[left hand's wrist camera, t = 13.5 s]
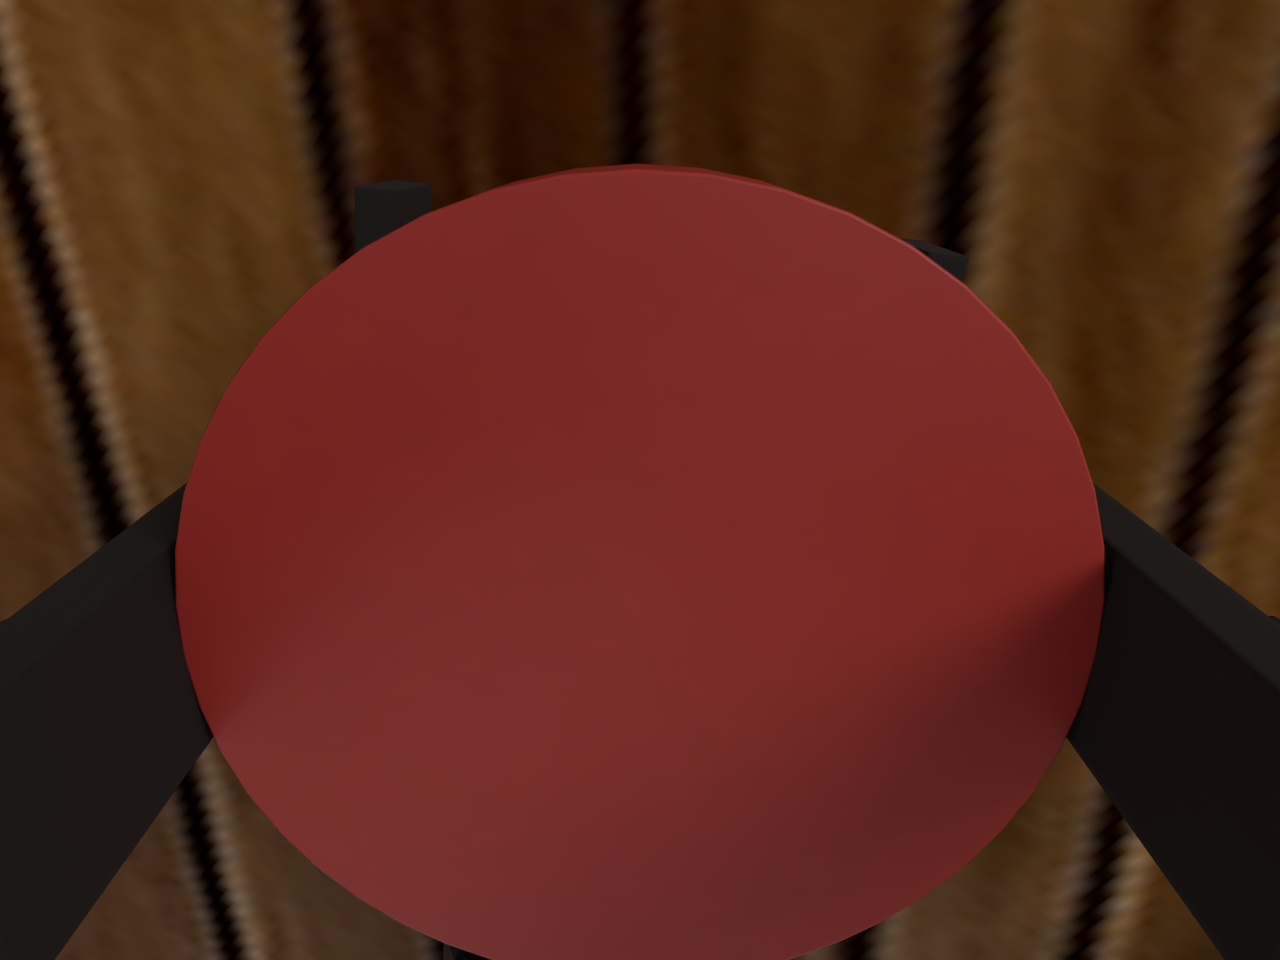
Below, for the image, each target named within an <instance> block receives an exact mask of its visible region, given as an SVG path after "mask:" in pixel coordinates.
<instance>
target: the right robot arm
mask: <svg viewBox="0 0 1280 960" xmlns="http://www.w3.org/2000/svg"><path fill="white" fill-rule="evenodd" d="M430 209H431V184H425V183H416V182H407V181H399V180H392V181H386V182H380V183H374V184H368V185H362V186H356V187H355V248H356V253H357V252H358V251H359V250H361V249H362V248H364V247H365V246H367V245H369V244H371V243H373V242H375V241H376V240H378V239H380V238H382V237H384V236H386V235H387V234H389V233H391V232H393V231H395V230H397V229H398V228H400V227H402V226H404V225H406V224H408V223H409V222H411V221H413V220H415V219H417V218H419V217H420V216H422V215H424V214H427V213H429V212H430ZM900 239H902V238H900ZM902 240H903V241H905V242H907V243H909V244H911V245H913V246H914V247H915V248H917V249H918V250H920V251H921V252H922V253H924V254H925V255H926V256H928V257H929V258H930V259H932V260H933V261H934V262H936V263H937V264H938V265H940V266H941V267H943V268H944V269H945V270H947V271H948V272H949V273H951V274H952V275H953V276H955V277H956V278H957V279H959V280H960V281H961V282H963V278H964V274H965V270H966V266H967V262H968V258H969V257H967V256H964V255H961V254H958V253H956V252H953V251H950V250H947V249H944V248H942V247H939V246H936V245H933V244H931V243H928V242H925V241H919V240H910V239H902ZM318 870H319V871H320V872H321V874H322V875H323V876H324V877H326V878H327V879H329V880H330V881H334V882H336V881H335V880H333V879H332V878H331V877H329V876H328V875H326V874H325V873H324V872H322V871H321V870H320V869H318ZM443 960H491V959H489V958H486V957H483V956H480V955H477V954H474V953H471V952H468V951H465V950H462V949H459V948H456V947H454V946H451V945H448V944H445V943H444V952H443Z"/></svg>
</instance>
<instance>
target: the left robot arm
mask: <svg viewBox="0 0 1280 960" xmlns="http://www.w3.org/2000/svg"><path fill="white" fill-rule="evenodd" d="M186 485H187V483H186V484H185V485H183V486H182V487H181V488H179V489H178V490H177V491H175V492H174V493H173V494H171V495H170V496H169V497H167V498H166V499H165V500H163V501H162V502H161V503H160V504H158V505H157V506H156V507H154V508H153V509H152V510H150V511H149V512H148V513H146V514H145V515H144V516H142V517H141V518H140V519H139V520H137V521H136V522H135V523H133V524H132V525H131V526H129V527H128V528H127V529H125V530H124V531H123V532H121V533H120V534H119V535H117V536H116V537H115V538H114V539H112V540H111V541H110V542H108V543H107V544H106V545H104V546H103V547H102V548H100V549H99V550H98V551H96V552H95V553H94V554H93V555H91V556H90V557H89V558H87V559H86V560H85V561H83V562H82V563H81V564H79V565H78V566H77V567H75V568H74V569H73V570H71V571H70V572H69V573H68V574H66V575H65V576H64V577H62V578H61V579H60V580H58V581H57V582H56V583H54V584H53V585H52V586H50V587H49V588H48V589H47V590H45V591H44V592H43V593H41V594H40V595H39V596H37V597H36V598H35V599H33V600H32V601H31V602H29V603H28V604H27V605H26V606H24V607H23V608H22V609H20V610H19V611H18V612H16V613H15V614H14V615H12V616H11V617H10V618H8V619H6V620H4V621H2V622H0V960H55V959H56V957H57V956H58V954H59V953H60V952H61V950H62V949H63V947H64V946H65V944H66V943H67V942H68V940H69V939H70V937H71V936H72V935H73V933H74V932H75V930H76V929H77V928H78V926H79V925H80V923H81V922H82V921H83V919H84V918H85V916H86V915H87V914H88V912H89V911H90V909H91V908H92V907H93V905H94V904H95V902H96V901H97V900H98V898H99V897H100V895H101V894H102V893H103V891H104V890H105V888H106V887H107V885H108V884H109V883H110V881H111V880H112V878H113V877H114V876H115V874H116V873H117V871H118V870H119V869H120V867H121V866H122V864H123V863H124V862H125V860H126V859H127V857H128V856H129V855H130V853H131V852H132V850H133V849H134V848H135V846H136V845H137V843H138V842H139V841H140V839H141V838H142V836H143V835H144V834H145V832H146V831H147V829H148V828H149V826H150V825H151V824H152V822H153V821H154V819H155V818H156V817H157V815H158V814H159V812H160V811H161V810H162V808H163V807H164V805H165V804H166V803H167V801H168V800H169V798H170V797H171V796H172V794H173V793H174V791H175V790H176V789H177V787H178V786H179V784H180V783H181V782H182V780H183V779H184V777H185V776H186V775H187V773H188V772H189V770H190V769H191V767H192V766H193V765H194V763H195V762H196V760H197V759H198V758H199V756H200V755H201V753H202V752H203V751H204V749H205V748H206V746H207V745H208V744H209V742H210V741H211V739H212V738H213V737H214V736H213V734H212V732H211V730H210V728H209V726H208V724H207V722H206V719H205V717H204V715H203V713H202V711H201V709H200V707H199V704H198V701H197V697H196V694H195V691H194V688H193V685H192V681H191V678H190V675H189V671H188V667H187V663H186V660H185V655H184V651H183V646H182V641H181V636H180V630H179V624H178V617H177V611H176V605H175V548H176V541H177V534H178V528H179V521H180V514H181V508H182V501H183V494H184V491H185V488H186ZM1093 485H1094V488H1095V492H1096V498H1097V505H1098V511H1099V517H1100V523H1101V530H1102V536H1103V542H1104V608H1103V614H1102V621H1101V628H1100V635H1099V640H1098V645H1097V650H1096V654H1095V658H1094V662H1093V666H1092V670H1091V674H1090V677H1089V681H1088V684H1087V687H1086V691H1085V694H1084V697H1083V701H1082V704H1081V706H1080V708H1079V710H1078V712H1077V714H1076V717H1075V719H1074V721H1073V723H1072V725H1071V727H1070V730H1069V732H1068V734H1067V736H1066V737H1067V739H1068V740H1069V741H1070V743H1071V744H1072V746H1073V747H1074V749H1075V750H1076V751H1077V753H1078V754H1079V756H1080V757H1081V758H1082V760H1083V761H1084V763H1085V764H1086V765H1087V767H1088V768H1089V770H1090V771H1091V772H1092V774H1093V775H1094V777H1095V778H1096V779H1097V781H1098V782H1099V784H1100V785H1101V786H1102V788H1103V789H1104V791H1105V792H1106V793H1107V795H1108V796H1109V798H1110V799H1111V800H1112V802H1113V803H1114V805H1115V806H1116V808H1117V809H1118V810H1119V812H1120V813H1121V815H1122V816H1123V817H1124V819H1125V820H1126V822H1127V823H1128V824H1129V826H1130V827H1131V829H1132V830H1133V831H1134V833H1135V834H1136V836H1137V837H1138V838H1139V840H1140V841H1141V843H1142V844H1143V845H1144V847H1145V848H1146V850H1147V851H1148V852H1149V854H1150V855H1151V857H1152V858H1153V860H1154V861H1155V862H1156V864H1157V865H1158V867H1159V868H1160V869H1161V871H1162V872H1163V874H1164V875H1165V876H1166V878H1167V879H1168V881H1169V882H1170V883H1171V885H1172V886H1173V888H1174V889H1175V890H1176V892H1177V893H1178V895H1179V896H1180V897H1181V899H1182V900H1183V902H1184V903H1185V904H1186V906H1187V907H1188V909H1189V910H1190V911H1191V913H1192V914H1193V916H1194V917H1195V919H1196V920H1197V921H1198V923H1199V924H1200V926H1201V927H1202V928H1203V930H1204V931H1205V933H1206V934H1207V935H1208V937H1209V938H1210V940H1211V941H1212V942H1213V944H1214V945H1215V947H1216V948H1217V949H1218V951H1219V952H1220V954H1221V955H1222V956H1223V958H1224V959H1225V960H1280V619H1279V618H1277V617H1275V616H1267V615H1266V614H1264V613H1263V612H1262V611H1261V610H1259V609H1258V608H1257V607H1255V606H1254V605H1253V604H1251V603H1250V602H1249V601H1247V600H1246V599H1245V598H1243V597H1242V596H1241V595H1239V594H1238V593H1237V592H1236V591H1234V590H1233V589H1232V588H1230V587H1229V586H1228V585H1226V584H1225V583H1224V582H1222V581H1221V580H1220V579H1218V578H1217V577H1216V576H1215V575H1213V574H1212V573H1211V572H1209V571H1208V570H1207V569H1205V568H1204V567H1203V566H1201V565H1200V564H1199V563H1197V562H1196V561H1195V560H1194V559H1192V558H1191V557H1190V556H1188V555H1187V554H1186V553H1184V552H1183V551H1182V550H1180V549H1179V548H1178V547H1176V546H1175V545H1174V544H1172V543H1171V542H1170V541H1169V540H1167V539H1166V538H1165V537H1163V536H1162V535H1161V534H1159V533H1158V532H1157V531H1155V530H1154V529H1153V528H1151V527H1150V526H1149V525H1148V524H1146V523H1145V522H1144V521H1142V520H1141V519H1140V518H1138V517H1137V516H1136V515H1134V514H1133V513H1132V512H1130V511H1129V510H1128V509H1127V508H1125V507H1124V506H1123V505H1121V504H1120V503H1119V502H1117V501H1116V500H1115V499H1113V498H1112V497H1111V496H1109V495H1108V494H1107V493H1105V492H1104V491H1103V490H1102V489H1100V488H1099V487H1098V486H1096V485H1095V484H1094V483H1093Z"/></svg>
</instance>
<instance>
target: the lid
mask: <svg viewBox="0 0 1280 960" xmlns="http://www.w3.org/2000/svg"><path fill="white" fill-rule="evenodd" d="M175 605H176V611H177V617H178V624H179V630H180V636H181V641H182V646H183V651H184V655H185V660H186V663H187V667H188V671H189V675H190V678H191V681H192V685H193V688H194V691H195V694H196V697H197V701H198V704H199V707H200V709H201V711H202V713H203V715H204V717H205V719H206V722H207V724H208V726H209V728H210V730H211V732H212V734H213V736H214V738H215V741H216V743H217V745H218V747H219V749H220V751H221V753H222V755H223V756H224V758H225V759H226V761H227V762H228V764H229V765H230V767H231V769H232V770H233V772H234V773H235V775H236V776H237V778H238V779H239V781H240V782H241V784H242V786H243V787H244V789H245V790H246V792H247V793H248V795H249V796H250V797H251V798H252V800H253V801H254V802H255V803H256V804H257V806H258V807H259V808H260V809H261V810H262V812H263V813H264V814H265V815H266V816H267V817H268V819H269V820H270V821H271V822H272V823H273V825H274V826H275V827H276V828H277V829H278V831H279V832H280V833H281V834H282V835H283V836H284V837H285V838H286V839H287V840H288V841H289V842H291V843H292V844H293V845H294V846H295V847H296V848H297V849H298V850H299V851H300V852H301V853H302V854H303V855H304V856H305V857H307V858H308V859H309V860H310V861H311V862H312V863H313V864H314V865H315V866H316V867H317V868H318V869H320V870H321V871H322V872H324V873H325V874H326V875H328V876H329V877H331V878H332V879H333V880H335V881H336V882H337V883H339V884H340V885H341V886H343V887H344V888H345V889H347V890H348V891H349V892H351V893H352V894H353V895H355V896H356V897H357V898H359V899H361V900H362V901H364V902H366V903H367V904H369V905H371V906H373V907H374V908H376V909H378V910H379V911H381V912H383V913H384V914H386V915H388V916H389V917H391V918H393V919H395V920H396V921H398V922H400V923H401V924H404V925H406V926H408V927H410V928H412V929H415V930H417V931H419V932H421V933H423V934H425V935H428V936H430V937H432V938H434V939H436V940H439V941H441V942H443V943H445V944H448V945H451V946H454V947H456V948H459V949H462V950H465V951H468V952H471V953H474V954H477V955H480V956H483V957H486V958H489V959H491V960H789V959H792V958H795V957H798V956H800V955H803V954H806V953H809V952H812V951H815V950H818V949H820V948H823V947H826V946H829V945H832V944H835V943H837V942H839V941H842V940H844V939H846V938H848V937H850V936H852V935H855V934H857V933H859V932H861V931H863V930H865V929H867V928H870V927H872V926H874V925H876V924H878V923H880V922H882V921H884V920H886V919H887V918H889V917H891V916H892V915H894V914H896V913H897V912H899V911H901V910H902V909H904V908H906V907H907V906H909V905H911V904H912V903H914V902H916V901H917V900H919V899H921V898H922V897H924V896H926V895H927V894H928V893H929V892H931V891H932V890H933V889H935V888H936V887H937V886H939V885H940V884H941V883H943V882H944V881H945V880H947V879H948V878H949V877H951V876H952V875H953V874H955V873H956V872H957V871H959V870H960V869H961V868H963V867H964V866H965V865H966V864H967V863H968V862H969V861H970V860H971V859H972V858H973V857H975V856H976V855H977V854H978V853H979V852H980V851H981V850H982V849H983V848H984V847H985V846H986V845H987V844H988V843H989V842H990V841H991V840H992V839H993V838H995V837H996V836H997V835H998V834H999V833H1000V832H1001V831H1002V829H1003V828H1004V827H1005V826H1006V825H1007V823H1008V822H1009V821H1010V820H1011V819H1012V817H1013V816H1014V815H1015V814H1016V813H1017V811H1018V810H1019V809H1020V808H1021V807H1022V805H1023V804H1024V803H1025V802H1026V800H1027V799H1028V798H1029V797H1030V796H1031V794H1032V793H1033V792H1034V790H1035V789H1036V787H1037V786H1038V784H1039V782H1040V781H1041V779H1042V778H1043V776H1044V775H1045V773H1046V771H1047V770H1048V768H1049V767H1050V765H1051V763H1052V762H1053V760H1054V759H1055V757H1056V756H1057V754H1058V752H1059V751H1060V749H1061V747H1062V745H1063V743H1064V740H1065V738H1066V736H1067V734H1068V732H1069V730H1070V727H1071V725H1072V723H1073V721H1074V719H1075V717H1076V714H1077V712H1078V710H1079V708H1080V706H1081V704H1082V701H1083V697H1084V694H1085V691H1086V687H1087V684H1088V681H1089V677H1090V674H1091V670H1092V666H1093V662H1094V658H1095V654H1096V650H1097V645H1098V640H1099V635H1100V628H1101V621H1102V614H1103V608H1104V542H1103V536H1102V530H1101V523H1100V517H1099V511H1098V505H1097V498H1096V492H1095V488H1094V485H1093V482H1092V479H1091V476H1090V473H1089V470H1088V467H1087V464H1086V461H1085V458H1084V455H1083V452H1082V449H1081V446H1080V442H1079V439H1078V436H1077V434H1076V432H1075V430H1074V428H1073V426H1072V424H1071V422H1070V421H1069V419H1068V417H1067V415H1066V413H1065V411H1064V409H1063V407H1062V405H1061V403H1060V401H1059V399H1058V397H1057V395H1056V393H1055V391H1054V389H1053V387H1052V385H1051V383H1050V382H1049V380H1048V379H1047V378H1046V376H1045V375H1044V374H1043V372H1042V371H1041V369H1040V368H1039V367H1038V365H1037V364H1036V363H1035V361H1034V360H1033V358H1032V357H1031V356H1030V354H1029V353H1028V352H1027V350H1026V349H1025V347H1024V346H1023V345H1022V343H1021V342H1020V341H1019V339H1018V338H1017V336H1016V335H1015V334H1014V332H1013V331H1012V330H1011V329H1010V328H1009V327H1008V326H1007V325H1006V324H1005V323H1004V322H1003V321H1002V320H1001V319H1000V318H999V317H998V316H997V315H996V314H995V313H994V312H993V311H992V310H991V309H990V308H989V307H988V306H987V305H986V304H985V303H984V302H983V301H982V300H981V299H980V298H979V297H978V296H977V295H976V294H975V293H974V292H973V291H972V290H971V289H970V288H969V287H968V286H967V285H966V284H964V283H963V282H961V281H960V280H959V279H957V278H956V277H955V276H953V275H952V274H951V273H949V272H948V271H947V270H945V269H944V268H943V267H941V266H940V265H938V264H937V263H936V262H934V261H933V260H932V259H930V258H929V257H928V256H926V255H925V254H924V253H922V252H921V251H920V250H918V249H917V248H915V247H914V246H913V245H911V244H909V243H907V242H905V241H903V240H902V239H900V238H898V237H896V236H894V235H892V234H890V233H888V232H887V231H885V230H883V229H881V228H879V227H877V226H875V225H873V224H872V223H870V222H868V221H866V220H864V219H862V218H860V217H858V216H857V215H855V214H853V213H851V212H848V211H845V210H843V209H840V208H837V207H834V206H831V205H829V204H826V203H823V202H820V201H818V200H815V199H812V198H809V197H807V196H804V195H801V194H798V193H795V192H793V191H790V190H787V189H784V188H781V187H778V186H776V185H773V184H770V183H767V182H764V181H761V180H756V179H752V178H747V177H742V176H737V175H732V174H728V173H723V172H718V171H713V170H708V169H704V168H696V167H681V166H666V165H650V164H627V165H613V166H600V167H586V168H575V169H570V170H566V171H561V172H556V173H552V174H547V175H543V176H538V177H533V178H529V179H524V180H520V181H515V182H512V183H509V184H506V185H503V186H500V187H497V188H494V189H491V190H489V191H486V192H483V193H480V194H478V195H475V196H472V197H470V198H467V199H464V200H462V201H459V202H456V203H454V204H451V205H448V206H445V207H443V208H440V209H437V210H435V211H432V212H429V213H427V214H424V215H422V216H420V217H419V218H417V219H415V220H413V221H411V222H409V223H408V224H406V225H404V226H402V227H400V228H398V229H397V230H395V231H393V232H391V233H389V234H387V235H386V236H384V237H382V238H380V239H378V240H376V241H375V242H373V243H371V244H369V245H367V246H365V247H364V248H362V249H361V250H359V251H358V252H357V253H355V254H354V255H353V256H351V257H350V258H349V259H347V260H346V261H345V262H343V263H342V264H341V265H339V266H338V267H337V268H336V269H334V270H333V271H332V272H330V273H329V274H328V275H326V276H325V277H324V278H322V279H321V280H320V281H318V282H317V283H316V284H314V285H313V286H312V287H310V288H309V289H308V290H307V291H306V292H305V293H304V294H303V295H302V296H301V297H300V298H299V299H298V300H297V301H296V302H295V303H294V304H293V305H292V306H291V307H290V309H289V310H288V311H287V312H286V313H285V314H284V315H283V316H282V317H281V318H280V319H279V320H278V321H277V322H276V323H275V324H274V325H273V326H272V327H271V328H270V329H269V330H268V331H267V332H266V333H265V334H264V335H263V337H262V338H261V339H260V341H259V342H258V344H257V345H256V346H255V348H254V349H253V351H252V352H251V353H250V355H249V356H248V358H247V359H246V360H245V362H244V363H243V365H242V366H241V367H240V369H239V370H238V372H237V373H236V374H235V376H234V377H233V379H232V380H231V381H230V383H229V384H228V386H227V388H226V390H225V392H224V394H223V396H222V398H221V400H220V402H219V404H218V406H217V408H216V410H215V412H214V414H213V416H212V418H211V420H210V422H209V424H208V426H207V428H206V430H205V432H204V434H203V436H202V438H201V440H200V443H199V447H198V450H197V453H196V456H195V459H194V462H193V466H192V469H191V472H190V475H189V478H188V481H187V485H186V488H185V491H184V494H183V501H182V508H181V514H180V521H179V528H178V534H177V541H176V548H175Z"/></svg>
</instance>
